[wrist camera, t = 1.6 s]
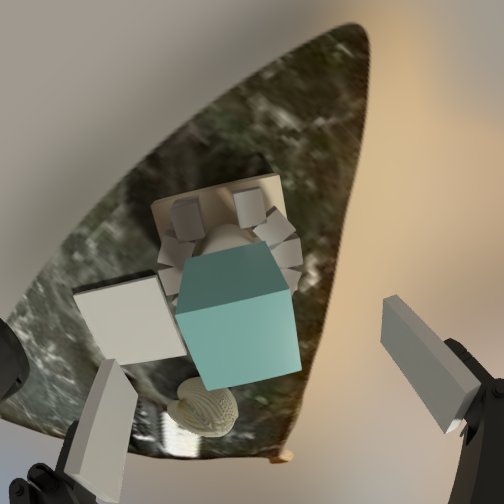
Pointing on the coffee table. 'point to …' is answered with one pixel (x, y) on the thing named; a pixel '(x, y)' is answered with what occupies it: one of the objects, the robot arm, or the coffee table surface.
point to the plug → (236, 311)
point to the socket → (225, 212)
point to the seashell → (203, 409)
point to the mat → (131, 321)
